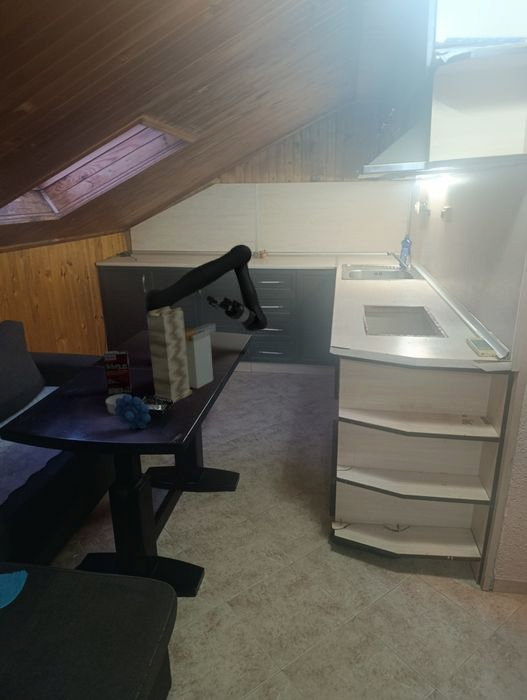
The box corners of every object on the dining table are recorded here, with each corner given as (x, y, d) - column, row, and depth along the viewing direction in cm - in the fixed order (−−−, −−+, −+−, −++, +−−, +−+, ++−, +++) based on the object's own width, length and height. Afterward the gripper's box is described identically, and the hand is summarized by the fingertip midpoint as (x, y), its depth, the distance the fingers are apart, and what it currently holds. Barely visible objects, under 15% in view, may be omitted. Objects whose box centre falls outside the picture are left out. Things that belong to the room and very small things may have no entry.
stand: (172, 403, 169) (163, 314, 159) (153, 398, 174) (143, 311, 164) (192, 393, 178) (185, 307, 168) (173, 388, 183) (165, 305, 173)
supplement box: (108, 394, 179) (102, 355, 174) (109, 390, 184) (104, 351, 179) (131, 392, 181) (126, 353, 176) (132, 387, 185) (127, 349, 180)
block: (187, 342, 176) (186, 332, 174) (179, 341, 177) (178, 331, 176) (216, 330, 190) (216, 321, 189) (209, 329, 192) (208, 320, 191)
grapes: (111, 434, 147) (106, 399, 144) (120, 425, 154) (115, 391, 150) (147, 435, 146) (143, 400, 142) (154, 425, 152) (150, 391, 149)
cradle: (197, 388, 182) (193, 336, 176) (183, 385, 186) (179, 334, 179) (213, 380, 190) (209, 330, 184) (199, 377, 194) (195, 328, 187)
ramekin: (122, 416, 160) (121, 405, 159) (101, 413, 163) (99, 402, 162) (138, 406, 168) (136, 395, 167) (117, 403, 171) (116, 392, 170)
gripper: (248, 321, 199) (227, 309, 186) (221, 317, 207) (199, 305, 193) (252, 304, 200) (232, 291, 187) (226, 301, 208) (204, 288, 194)
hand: (216, 298), depth 190 cm, fingers open, 8 cm apart
